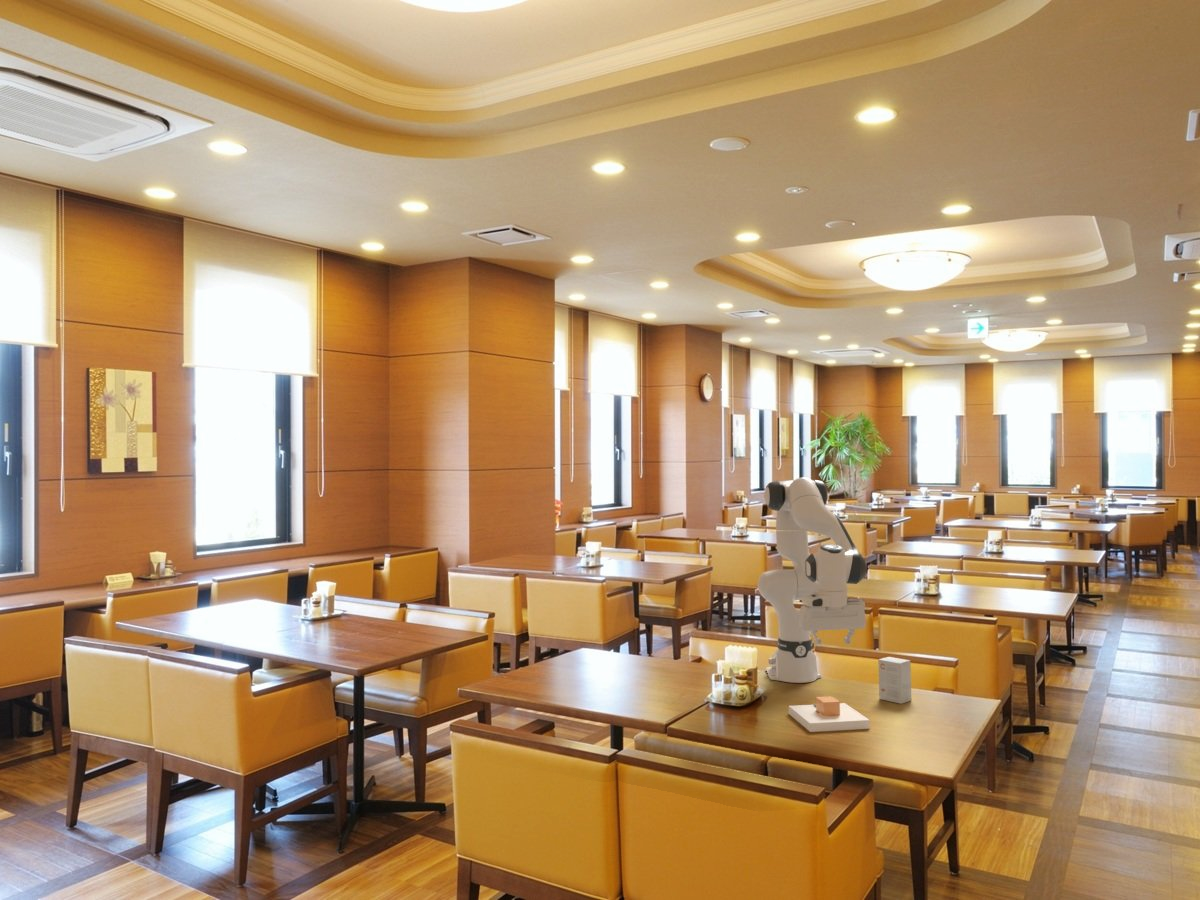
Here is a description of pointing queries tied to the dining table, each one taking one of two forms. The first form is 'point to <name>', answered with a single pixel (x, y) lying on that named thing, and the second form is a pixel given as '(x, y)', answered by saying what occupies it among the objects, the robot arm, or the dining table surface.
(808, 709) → the socket plate
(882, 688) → the small box
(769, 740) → the dining table surface
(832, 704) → the plug
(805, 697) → the dining table surface
